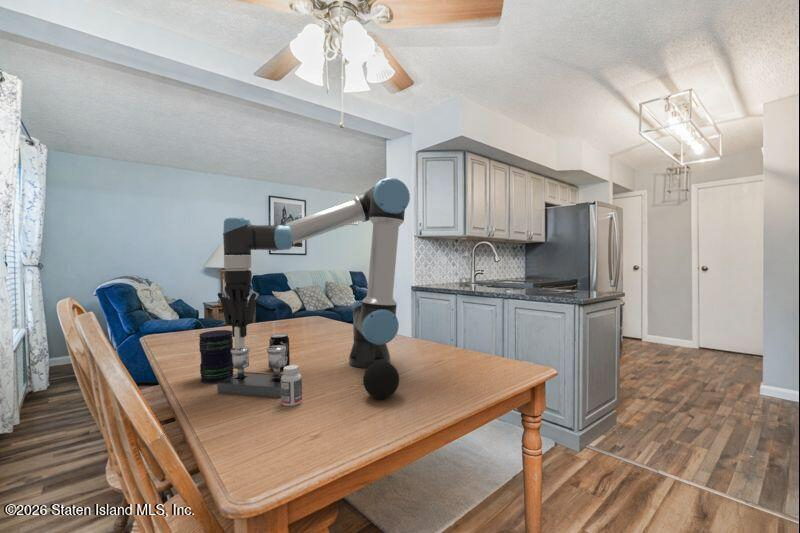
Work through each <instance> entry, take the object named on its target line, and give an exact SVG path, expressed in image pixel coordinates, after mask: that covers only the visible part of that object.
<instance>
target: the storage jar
mask: <svg viewBox="0 0 800 533" xmlns="http://www.w3.org/2000/svg"><path fill="white" fill-rule="evenodd" d="M198 344H199V353H200V364H199V371H200V377H201V378H200V382H201V383H203V384H217V383H218V382H220V381H222V380H224V379H226V378H228V377H230V376H232V375H234V374H235V373H234V370H235V369H234V368H233V365H232V354H231V349H232V348H234V339H233V335H232V330H229V329H228V330H226V329H220V330H219V329H217V330H211V331H205V332H201V333H199V343H198Z"/></svg>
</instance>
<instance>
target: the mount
mask: <svg viewBox="0 0 800 533" xmlns="http://www.w3.org/2000/svg"><path fill="white" fill-rule="evenodd" d="M233 374H234V375H232V376H230V377H228V378H226V379H224V380H222V381H220V382H218V383H216V385H217V386H216V388H217V394H222V395H224V394H225V395H237V396H249V397H250V396H252V397H261V398H264V397H265V398H276V399H280V398H282V395H281V377H282V376H283V375H284V373H280V376H279V377H274V372H261V371H260V372H259V371H258V372H257V371H245V370H244V377H241V378H239V377H238V372H236V373H233Z"/></svg>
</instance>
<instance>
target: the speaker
mask: <svg viewBox="0 0 800 533" xmlns="http://www.w3.org/2000/svg"><path fill="white" fill-rule="evenodd" d="M362 383H363V387H364V389H365V391H366V392H367V394H368V395H370V397H372V398H375V399H380V400H382V399H387V398H389V397H391V396H393V394H394V393H395V392H396V391H397V389H398V387H399V383H400V376H399V373H398V370H397V368H396V367H395V366H394V364H391V362H390V363H388V362H385V361H378V362H375V363H373V364H371V365H370V366H369V367H368V368H365V371H364V374H363V378H362Z"/></svg>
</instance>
